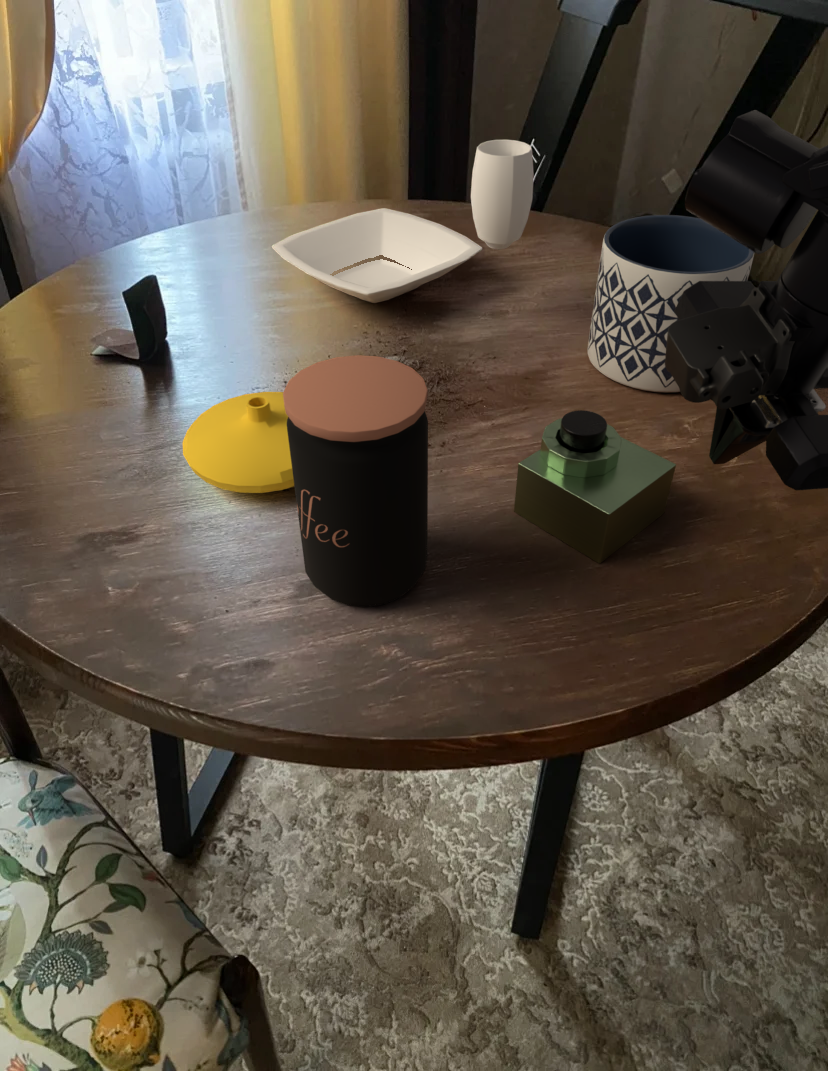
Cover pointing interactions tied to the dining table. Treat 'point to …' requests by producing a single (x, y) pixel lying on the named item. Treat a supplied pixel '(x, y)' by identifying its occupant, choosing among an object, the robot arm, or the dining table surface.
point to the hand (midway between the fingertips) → (716, 460)
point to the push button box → (592, 492)
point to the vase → (242, 444)
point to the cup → (501, 191)
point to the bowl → (377, 253)
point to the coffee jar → (360, 476)
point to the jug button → (582, 431)
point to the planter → (653, 291)
